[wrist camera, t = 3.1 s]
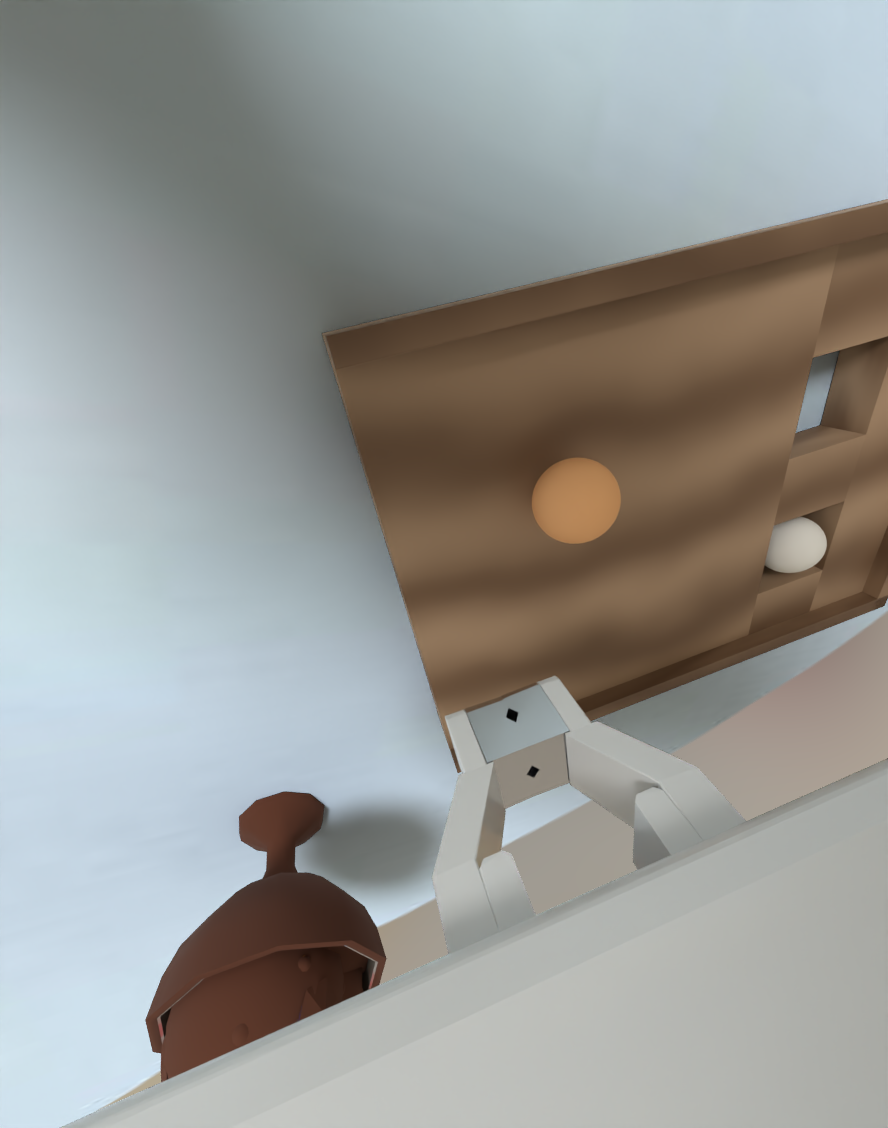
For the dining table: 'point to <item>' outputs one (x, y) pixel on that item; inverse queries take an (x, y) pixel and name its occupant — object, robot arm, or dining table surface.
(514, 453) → the wooden tray
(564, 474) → the ball orange
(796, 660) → the dining table surface
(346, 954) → the ice cream bowl
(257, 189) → the dining table surface
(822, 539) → the ball grey
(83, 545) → the dining table surface
